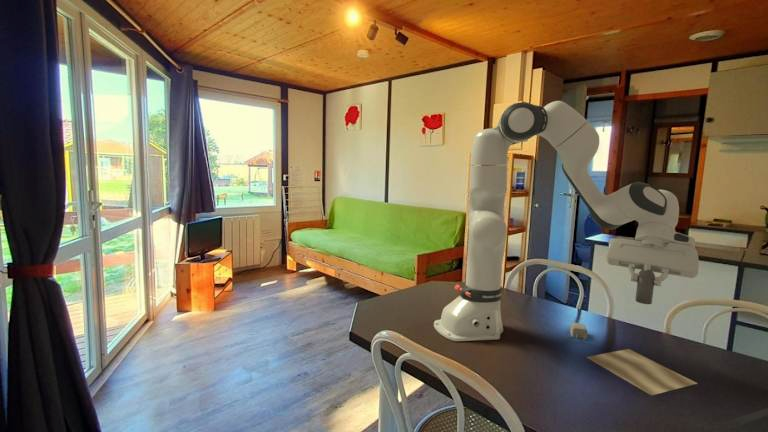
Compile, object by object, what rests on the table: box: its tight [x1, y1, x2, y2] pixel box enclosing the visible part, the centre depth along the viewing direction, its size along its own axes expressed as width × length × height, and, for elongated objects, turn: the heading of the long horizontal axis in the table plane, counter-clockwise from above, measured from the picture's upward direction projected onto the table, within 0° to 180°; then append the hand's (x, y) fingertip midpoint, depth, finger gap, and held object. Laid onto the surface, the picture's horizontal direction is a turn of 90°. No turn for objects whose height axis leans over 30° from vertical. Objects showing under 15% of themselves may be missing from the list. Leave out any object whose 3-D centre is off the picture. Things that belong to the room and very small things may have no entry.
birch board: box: [586, 348, 699, 396], centre depth 97 cm, size 16×18×1 cm
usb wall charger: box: [569, 322, 588, 340], centre depth 115 cm, size 4×7×4 cm, turn 161°
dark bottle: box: [635, 264, 656, 305], centre depth 98 cm, size 4×4×10 cm
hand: (645, 282), depth 97 cm, fingers closed on dark bottle, 4 cm apart
